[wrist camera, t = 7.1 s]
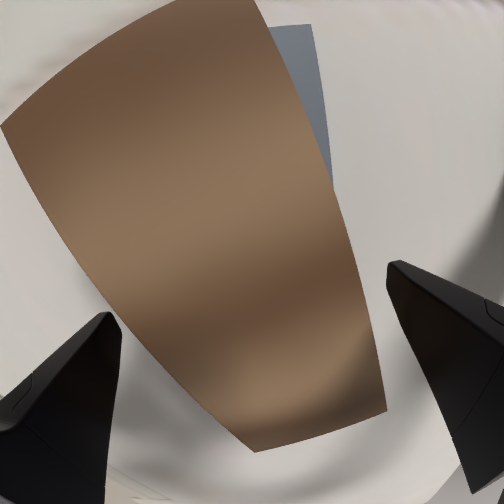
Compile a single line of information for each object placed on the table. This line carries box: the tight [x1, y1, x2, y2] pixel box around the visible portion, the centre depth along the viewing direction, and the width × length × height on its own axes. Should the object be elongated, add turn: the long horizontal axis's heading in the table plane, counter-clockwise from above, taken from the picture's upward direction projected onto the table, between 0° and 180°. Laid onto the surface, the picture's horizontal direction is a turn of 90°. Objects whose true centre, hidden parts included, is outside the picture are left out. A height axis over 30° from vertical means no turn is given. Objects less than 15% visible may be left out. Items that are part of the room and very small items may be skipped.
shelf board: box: [0, 0, 387, 453], centre depth 10 cm, size 16×6×3 cm, turn 24°
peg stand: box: [268, 24, 334, 189], centre depth 13 cm, size 17×9×5 cm, turn 10°
